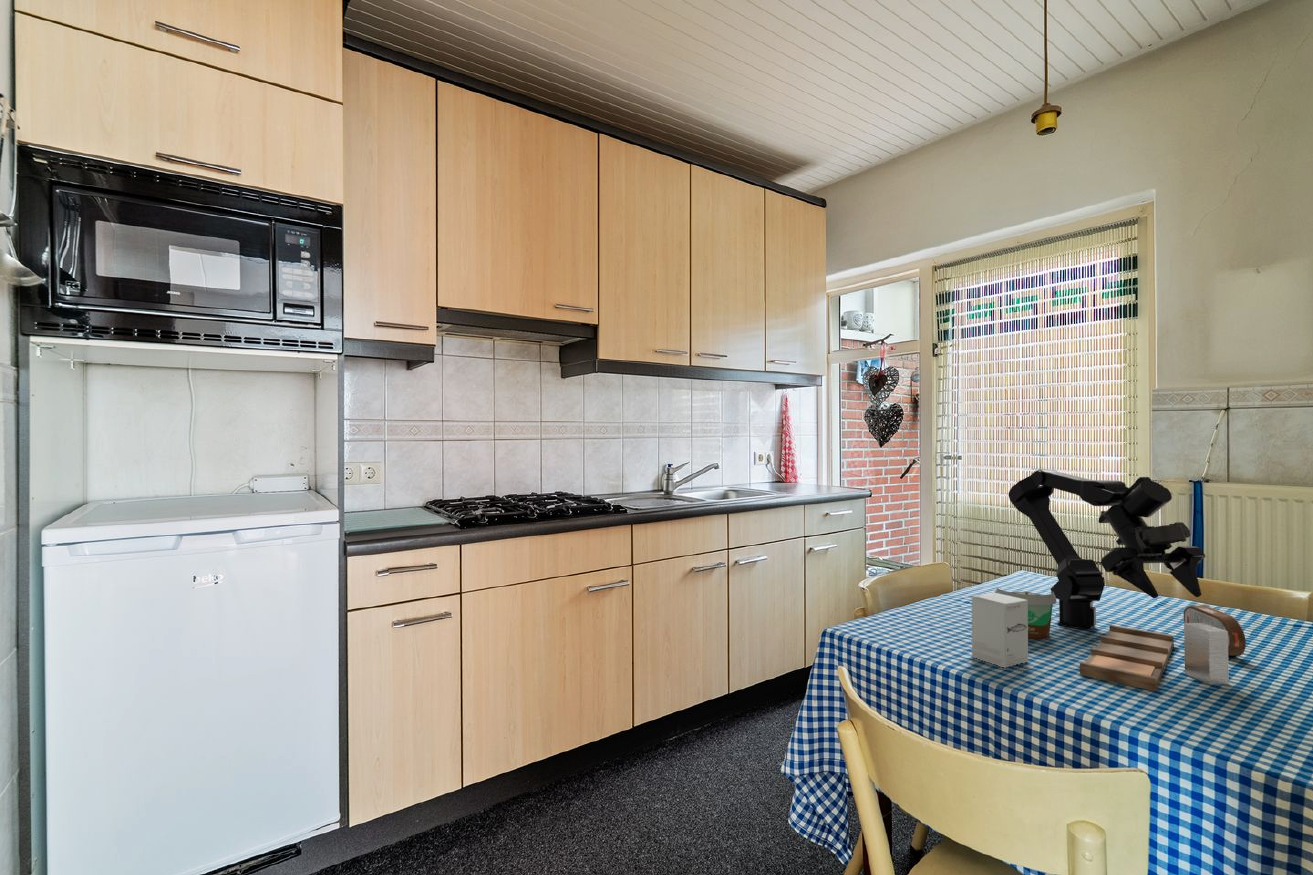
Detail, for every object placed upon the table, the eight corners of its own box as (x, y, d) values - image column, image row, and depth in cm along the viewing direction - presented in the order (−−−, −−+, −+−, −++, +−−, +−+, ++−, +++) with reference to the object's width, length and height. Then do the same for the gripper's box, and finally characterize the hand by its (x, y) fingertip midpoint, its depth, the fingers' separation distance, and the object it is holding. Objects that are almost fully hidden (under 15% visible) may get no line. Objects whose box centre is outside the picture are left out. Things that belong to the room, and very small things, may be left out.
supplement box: (1005, 669, 116) (1004, 603, 116) (970, 657, 123) (970, 595, 123) (1029, 663, 119) (1029, 599, 119) (994, 652, 126) (994, 591, 126)
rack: (1079, 674, 113) (1079, 662, 113) (1110, 634, 137) (1110, 624, 137) (1155, 691, 105) (1155, 678, 105) (1173, 645, 130) (1173, 635, 130)
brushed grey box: (1184, 673, 114) (1184, 623, 114) (1203, 673, 114) (1202, 623, 114) (1209, 684, 109) (1208, 631, 109) (1228, 683, 109) (1227, 631, 109)
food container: (998, 637, 135) (997, 592, 135) (994, 629, 141) (994, 587, 141) (1063, 644, 131) (1062, 598, 131) (1056, 635, 136) (1055, 591, 136)
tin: (1248, 662, 120) (1247, 619, 120) (1229, 661, 120) (1228, 618, 121) (1196, 638, 134) (1196, 600, 135) (1180, 637, 135) (1179, 600, 135)
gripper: (1115, 508, 122) (1162, 577, 112) (1199, 507, 124) (1253, 575, 114) (1082, 538, 131) (1123, 605, 120) (1161, 536, 132) (1209, 602, 122)
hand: (1177, 596), depth 119 cm, fingers open, 9 cm apart
